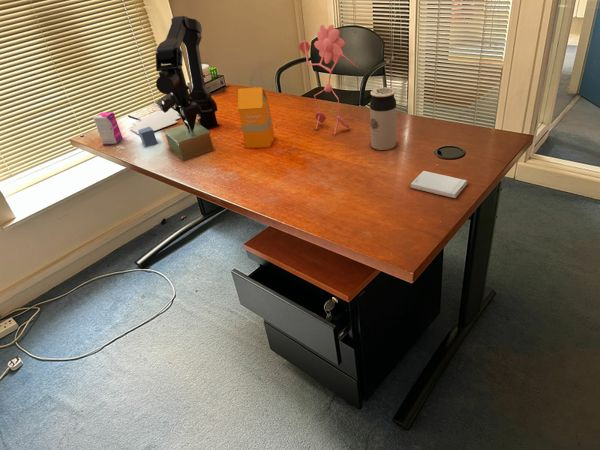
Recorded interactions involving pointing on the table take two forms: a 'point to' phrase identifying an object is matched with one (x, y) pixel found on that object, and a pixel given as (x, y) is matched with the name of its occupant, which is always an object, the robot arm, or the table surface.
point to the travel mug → (383, 118)
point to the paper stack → (156, 120)
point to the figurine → (327, 61)
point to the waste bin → (191, 147)
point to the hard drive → (439, 184)
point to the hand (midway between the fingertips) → (189, 127)
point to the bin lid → (186, 132)
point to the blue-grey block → (147, 136)
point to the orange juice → (255, 117)
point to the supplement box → (108, 128)
